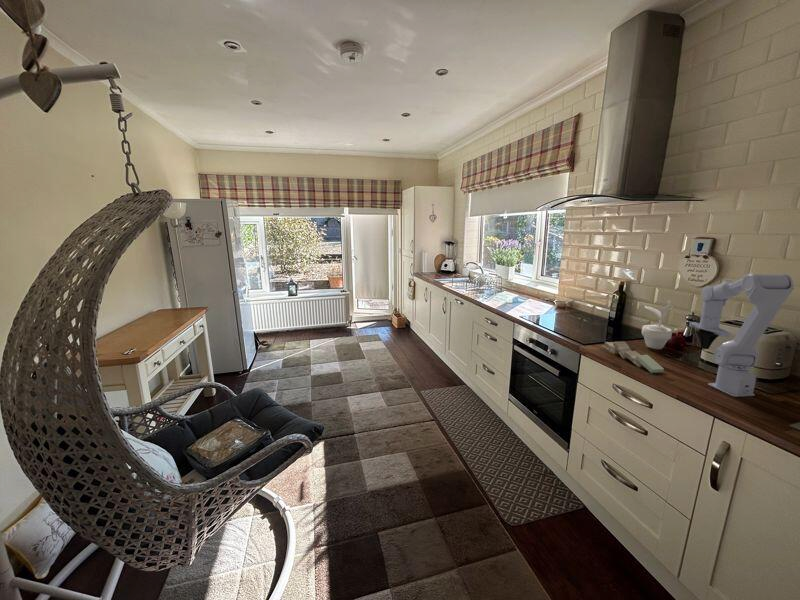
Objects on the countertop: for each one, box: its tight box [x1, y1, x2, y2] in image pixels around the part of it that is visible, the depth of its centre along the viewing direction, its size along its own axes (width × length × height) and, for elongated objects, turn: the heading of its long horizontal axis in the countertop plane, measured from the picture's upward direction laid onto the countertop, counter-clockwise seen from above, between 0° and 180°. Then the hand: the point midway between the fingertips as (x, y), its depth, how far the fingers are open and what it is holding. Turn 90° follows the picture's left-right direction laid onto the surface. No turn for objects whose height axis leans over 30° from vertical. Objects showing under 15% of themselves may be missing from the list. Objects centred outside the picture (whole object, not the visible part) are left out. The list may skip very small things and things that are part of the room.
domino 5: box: [635, 354, 665, 374], centre depth 139 cm, size 2×5×9 cm
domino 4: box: [624, 350, 645, 368], centre depth 144 cm, size 2×5×9 cm
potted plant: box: [641, 298, 674, 350], centre depth 161 cm, size 13×12×25 cm
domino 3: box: [613, 341, 633, 360], centre depth 152 cm, size 2×5×9 cm
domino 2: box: [601, 344, 620, 355], centre depth 160 cm, size 2×5×9 cm
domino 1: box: [603, 341, 618, 352], centre depth 159 cm, size 2×5×9 cm
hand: (704, 348), depth 135 cm, fingers closed
